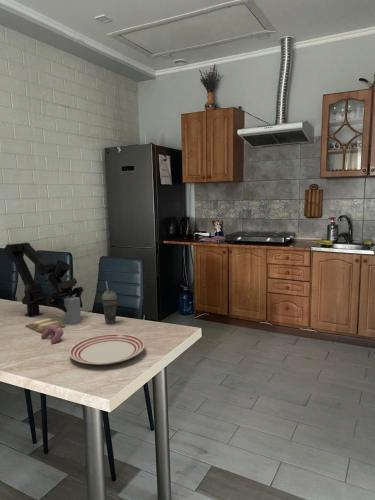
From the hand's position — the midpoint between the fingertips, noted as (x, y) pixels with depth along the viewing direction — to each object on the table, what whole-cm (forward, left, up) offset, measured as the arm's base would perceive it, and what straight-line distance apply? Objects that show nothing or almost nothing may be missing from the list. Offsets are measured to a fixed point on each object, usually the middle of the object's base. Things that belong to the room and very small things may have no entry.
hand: (74, 309), depth 176 cm
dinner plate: (+42, -13, -7) cm, 44 cm away
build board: (-6, -12, -7) cm, 15 cm away
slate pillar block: (-1, 0, -7) cm, 7 cm away
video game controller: (+12, -18, -7) cm, 23 cm away
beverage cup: (+13, +11, -7) cm, 18 cm away
